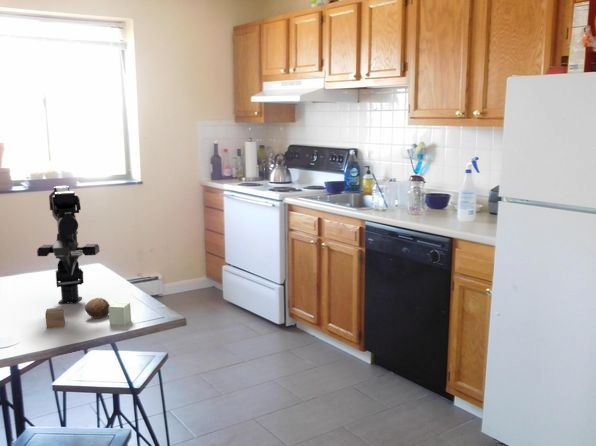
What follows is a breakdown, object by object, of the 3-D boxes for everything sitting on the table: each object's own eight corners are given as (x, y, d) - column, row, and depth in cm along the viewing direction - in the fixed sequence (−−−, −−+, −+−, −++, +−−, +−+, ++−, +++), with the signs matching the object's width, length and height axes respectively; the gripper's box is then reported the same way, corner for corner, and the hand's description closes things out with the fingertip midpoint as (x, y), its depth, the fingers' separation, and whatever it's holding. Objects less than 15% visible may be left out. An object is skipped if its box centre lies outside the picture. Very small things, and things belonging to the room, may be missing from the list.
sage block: (116, 319, 190) (115, 302, 189) (131, 320, 189) (130, 302, 188) (109, 325, 185) (108, 306, 184) (124, 325, 184) (123, 307, 183)
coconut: (84, 303, 197) (90, 291, 194) (107, 309, 200) (113, 297, 197) (80, 321, 190) (86, 308, 187) (104, 327, 193) (110, 315, 190)
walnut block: (48, 323, 187) (46, 308, 186) (64, 322, 188) (63, 307, 187) (46, 328, 182) (45, 313, 181) (63, 327, 184) (62, 311, 183)
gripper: (28, 234, 185) (32, 282, 187) (88, 233, 186) (92, 281, 189) (41, 228, 196) (45, 273, 198) (98, 227, 197) (101, 272, 199)
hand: (70, 275), depth 196 cm, fingers closed
